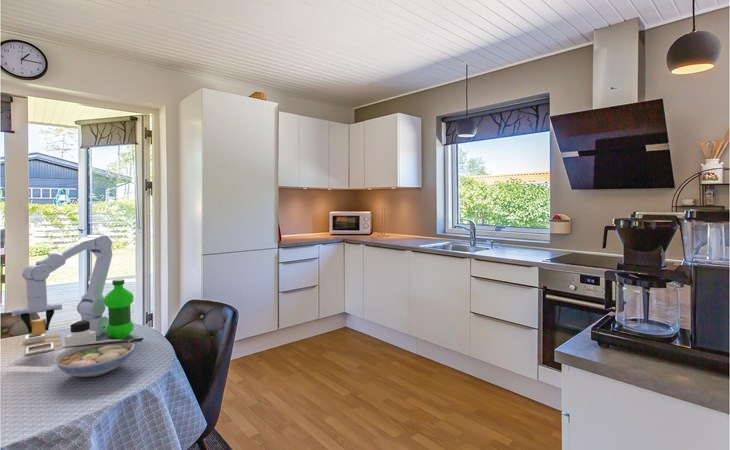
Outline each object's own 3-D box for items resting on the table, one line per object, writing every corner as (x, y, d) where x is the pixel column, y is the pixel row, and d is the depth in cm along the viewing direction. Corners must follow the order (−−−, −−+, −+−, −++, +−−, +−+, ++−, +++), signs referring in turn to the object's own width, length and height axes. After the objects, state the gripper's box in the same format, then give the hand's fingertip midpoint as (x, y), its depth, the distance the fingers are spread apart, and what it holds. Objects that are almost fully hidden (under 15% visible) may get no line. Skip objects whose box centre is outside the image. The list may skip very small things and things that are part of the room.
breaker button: (40, 340, 156) (40, 334, 156) (29, 342, 154) (29, 336, 153) (40, 337, 158) (40, 332, 158) (30, 339, 156) (29, 333, 156)
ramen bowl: (34, 393, 116) (33, 367, 116) (70, 362, 138) (69, 340, 138) (126, 383, 123) (125, 358, 122) (146, 355, 145) (146, 334, 144)
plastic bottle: (102, 342, 158) (99, 283, 156) (112, 333, 168) (110, 278, 166) (129, 340, 160) (127, 282, 158) (137, 332, 170) (135, 277, 169)
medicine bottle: (97, 348, 151) (95, 319, 151) (82, 355, 144) (80, 324, 144) (80, 347, 152) (79, 318, 151) (64, 354, 145) (63, 324, 144)
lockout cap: (49, 331, 148) (48, 318, 147) (38, 335, 143) (38, 322, 143) (39, 331, 148) (38, 318, 148) (28, 335, 144) (27, 322, 143)
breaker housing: (44, 340, 156) (44, 335, 155) (25, 344, 152) (25, 339, 152) (44, 336, 160) (44, 331, 160) (25, 339, 156) (25, 335, 156)
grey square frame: (53, 350, 146) (53, 348, 146) (25, 355, 141) (25, 353, 140) (53, 343, 152) (53, 342, 152) (26, 349, 147) (26, 347, 147)
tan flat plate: (62, 352, 147) (61, 348, 147) (23, 360, 140) (23, 356, 140) (60, 336, 165) (60, 332, 165) (26, 342, 158) (26, 338, 157)
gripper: (60, 291, 153) (62, 324, 153) (11, 297, 143) (13, 332, 144) (61, 294, 147) (63, 329, 148) (10, 301, 138) (12, 337, 139)
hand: (38, 331), depth 146 cm, fingers closed on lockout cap, 4 cm apart
